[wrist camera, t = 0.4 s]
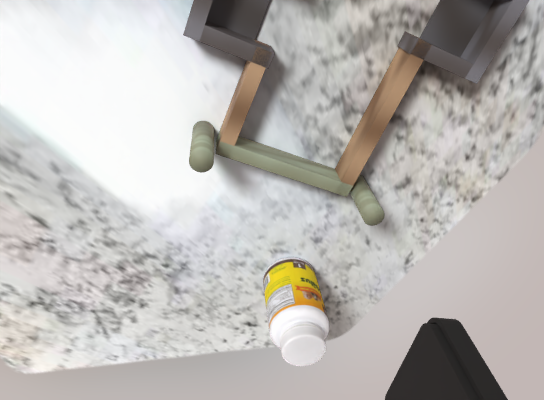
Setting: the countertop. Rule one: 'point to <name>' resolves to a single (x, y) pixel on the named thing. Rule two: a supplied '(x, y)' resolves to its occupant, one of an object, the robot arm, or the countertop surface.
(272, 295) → the supplement bottle
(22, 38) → the countertop surface
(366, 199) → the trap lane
